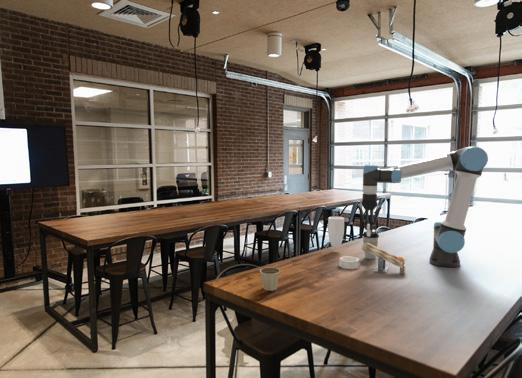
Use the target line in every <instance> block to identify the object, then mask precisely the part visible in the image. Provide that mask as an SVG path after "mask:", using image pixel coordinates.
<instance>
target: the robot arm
mask: <svg viewBox="0 0 522 378" xmlns="http://www.w3.org/2000/svg"><path fill="white" fill-rule="evenodd" d="M488 162H489V156H488V153H487V152H486V151H485V150H484V149H483V148H481V147H479V146H474V145H471V146H465V147H463V148H460V149H457V150H454V151H450V152H448V153H446V154H445V155H440V156H437V157H432V158H427V159H424V160H418V161H414V162H409V163H405V164H401V165H397V166H392V167H387V168H379V166H378V164H365V165H364V166H363V171H362V172H363V173H362V199H361V200H362V201H361V203H360V204H359V205H357V206H356V207H357V209H358V211H359V212H358V213H359V216H360V220H361V221H360V222H361V223H363V224H364V230H365V231H366V232H367V236H368V237H370V235H371V231H373V228H374V225H375V224H376V223H377V221H378V218H379V214H380V211H381V210H382V208H383V207H382V206H380V205H379V204H378V183H384V184H400V183H401V182H402V179H403V180H404V179H406V178H407V179H408V178H411V177H417V176H422V175H426V174H431V173H435V172H441V171H446V170H450V171H454V172H455V173H456V180H455V183H454V187H453V191H452V193H451V194H452V195H451V198H450V201H449V206H448V208H447V212H446V216H445V220H444V221H435V222H434V224H433V244H432V245H433V246H432V247H433V249H432V251H431V253H430V256H429V260H428V261H429V263H430V264H431V265H434V266H437V267H443V268H457V267H460V266H461V259H460V257H459V253H458V252H460V251H461V250H463V248H464V247H465V244H466V243H465V242H466V241H465V235H466V231H467V227H466V226H465V222H466V219H467V214H468V211H469V208H470V207H469V206H470V204H471V200H472V197H473V194H474V189H475V186H476V183H477V180H478V178H480V177H482V174H483V170H484V168H485V167H486V166H487V164H488ZM363 209H364V210H363ZM375 209H376V212H375V215H374V210H375ZM363 211H364V212H365V214H364V212H363Z"/></svg>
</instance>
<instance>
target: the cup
mask: <svg viewBox="0 0 522 378" xmlns="http://www.w3.org/2000/svg"><path fill="white" fill-rule="evenodd" d="M327 229H328V230H327V231H328V238H329V242H330V244H331V247H332V248H333V249H339V248H340V247H341V245H342V242H343V241H344V240H343V239H344V235H345V217H342V216H329V217H328V221H327Z"/></svg>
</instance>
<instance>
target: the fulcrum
mask: <svg viewBox="0 0 522 378" xmlns="http://www.w3.org/2000/svg"><path fill="white" fill-rule="evenodd" d="M389 269H390V266H388V265H386V260H383V258H379V257H377V265H376V267H375V269H374V270H373V274H375V273H376V274H383V275H387V273H388V271H389ZM405 273H406V265H404V266H403V268H401V267H399V275H403V276H404V275H405Z"/></svg>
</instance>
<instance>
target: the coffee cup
mask: <svg viewBox="0 0 522 378" xmlns="http://www.w3.org/2000/svg"><path fill="white" fill-rule="evenodd" d="M361 237H362V238H363V245H364V244H365V242H366V243H369V244H371V245H374V246H376V247H377V248H378V244H379V241H378V239H379V237H380V236H379V233H378V232H377V231H373V230H371V235H370V237H368V236H367V231H364V232H363V233H362V235H361ZM376 257H377V256H375V255H373V254H370V253H368V252H366V251H364V258H365V259H368V260H375V259H376Z"/></svg>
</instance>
